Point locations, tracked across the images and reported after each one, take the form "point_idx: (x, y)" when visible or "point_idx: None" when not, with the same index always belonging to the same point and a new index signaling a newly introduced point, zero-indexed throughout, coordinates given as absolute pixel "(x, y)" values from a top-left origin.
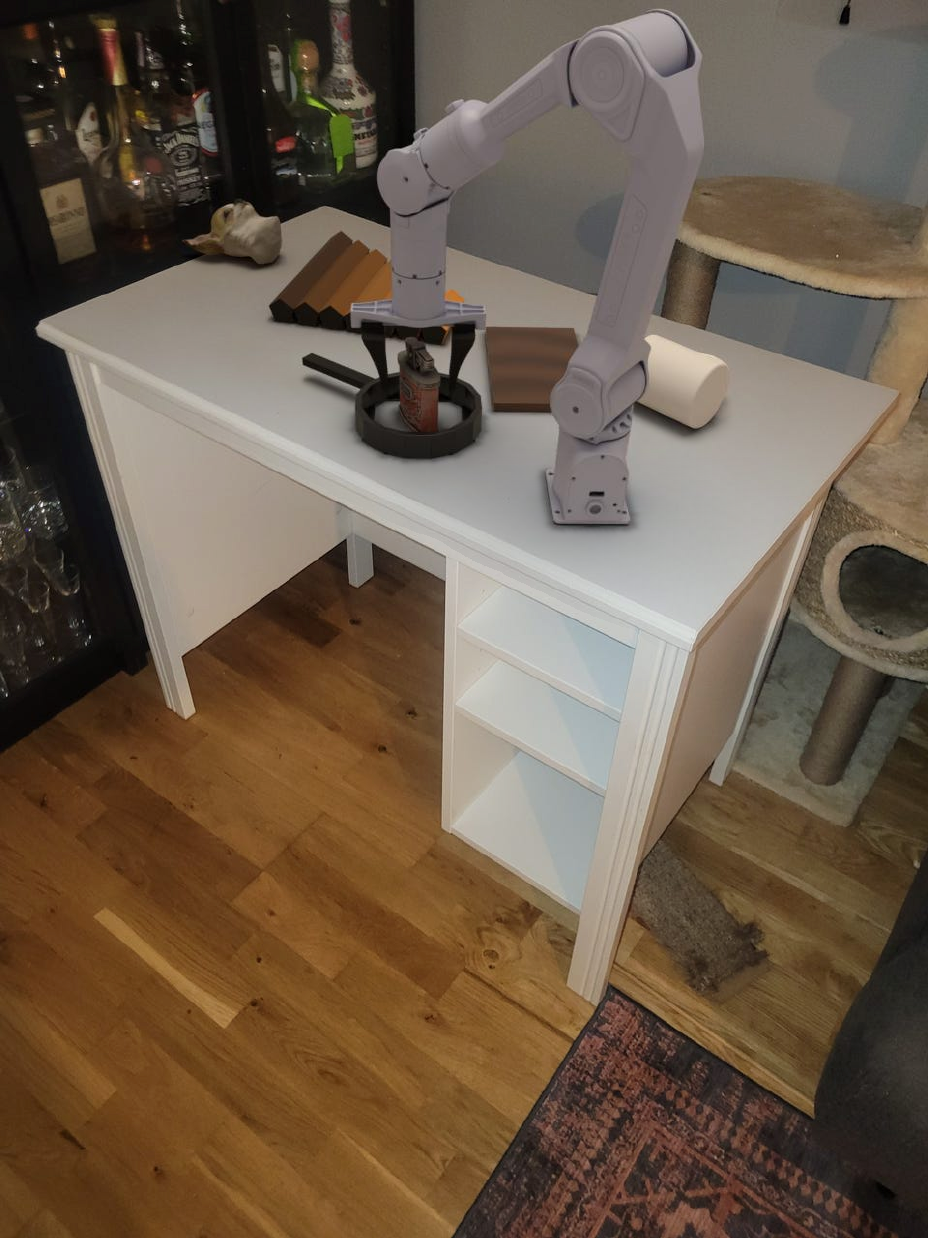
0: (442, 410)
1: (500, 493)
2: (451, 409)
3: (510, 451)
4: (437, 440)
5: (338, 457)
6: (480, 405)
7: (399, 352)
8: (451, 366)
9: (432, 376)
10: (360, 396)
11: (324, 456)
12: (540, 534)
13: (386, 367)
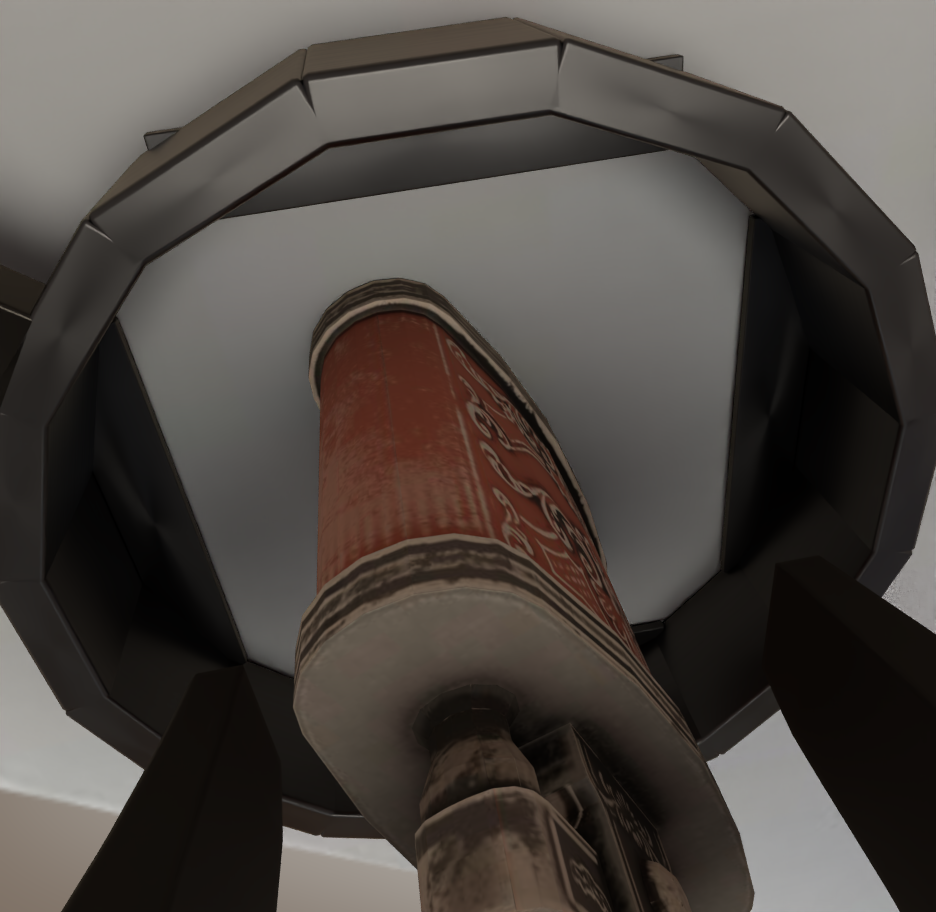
0: (612, 279)
1: (817, 799)
2: (674, 254)
3: (928, 581)
4: None
5: (123, 782)
6: (914, 524)
7: (306, 673)
8: (891, 869)
9: (689, 903)
10: (38, 603)
11: (52, 791)
12: (892, 900)
13: (239, 855)
